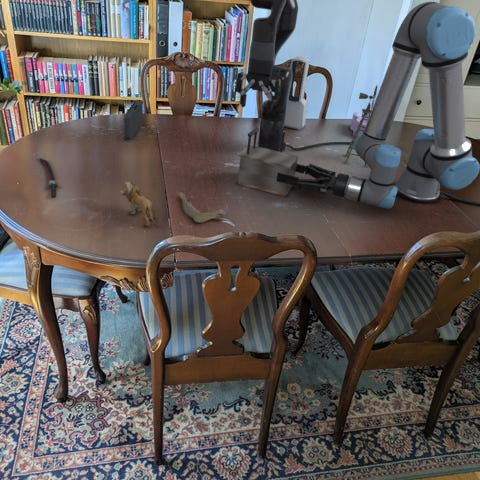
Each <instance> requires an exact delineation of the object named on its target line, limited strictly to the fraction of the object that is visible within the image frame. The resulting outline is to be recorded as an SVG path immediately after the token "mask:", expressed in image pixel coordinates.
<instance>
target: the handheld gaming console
mask: <svg viewBox="0 0 480 480" xmlns="http://www.w3.org/2000/svg"><path fill="white" fill-rule="evenodd" d="M143 107H144V105H143V100H142V99H136V100H135V101H134V102H133V103H132V104H131V106H130V107H129V108H128V109H127V111H126V113H125V114H124V115H123V116H124V117H123V125H124V126H123V127H124V128H123V129H124V139H125V140H128V141H129V140H130V141H132V139H133V138H134V137H135V135H136V133H137V132H138V131H139V129H140V128H141V126H142V124H143V120H144V113H143V112H144V111H143Z"/></svg>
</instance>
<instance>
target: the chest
mask: <svg viewBox="0 0 480 480" xmlns="http://www.w3.org/2000/svg"><path fill="white" fill-rule="evenodd" d="M298 159H299V158H298ZM298 159H297V160H296V161H295V163H294V164H293V165H292V166H291V168H290V169H289V168H285V167H281V166H277V165H273V164H268V163H264V162H260V161H256V160H252V159H248V158H243V157H240V158H239V167H238V168H239V169H238V176H237V185H240V186H243V187H247V188H252V189H255V190H259V191H263V192H268V193H271V194H273V195H278V196H282V197H286V196H287V195H288V193H289V192H290V191H291V189H292V188H293V186H294V185H291V184H287V183H283V182H279V181H277V174H278V173H282V174H286V175H290V176H294V177H296V173H297V172H296V167H297V164H298Z"/></svg>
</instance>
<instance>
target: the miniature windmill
mask: <svg viewBox="0 0 480 480" xmlns="http://www.w3.org/2000/svg"><path fill="white" fill-rule="evenodd" d="M377 91H378V85H375V88H374V91H373V94H372V95H368V94H366V93H363V92H360V93H359V96H358V100H367V99H369V102H368V104H367V105H366V108H362V109H361V111H362V112H361V116H362V119H361V121H360V124H361V125H360V124H359V126H358V127H357V130H356V132H355V135H354V136H352V139H351V141H350V142H351V144H349V146H347V151H346V153H345V156H347V157H346V159H345V164H346V163H348V160H349V158H350V156H356V157H359V156H358V154H357V153H356V154H355V153H352V151H353V150H355V149H354V141H355V139H356V138H357V137H358V133H359V131H364V130H360V128H361V127H362V128H365V127H363V126H362V123H363V121H364V120H368V119H369V117H370V114H371V111H372V109H373V106H374V103H375V100H376V98H377ZM371 100H372V101H371ZM362 113H364V115H362ZM368 114H369V115H368ZM366 115H368V117H365V116H366ZM364 118H368V119H364ZM357 131H358V132H357ZM352 143H353V144H352ZM364 167H367V164H366V163H365V162H364Z"/></svg>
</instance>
